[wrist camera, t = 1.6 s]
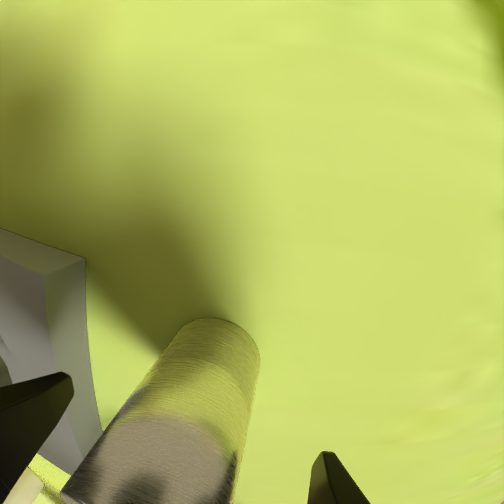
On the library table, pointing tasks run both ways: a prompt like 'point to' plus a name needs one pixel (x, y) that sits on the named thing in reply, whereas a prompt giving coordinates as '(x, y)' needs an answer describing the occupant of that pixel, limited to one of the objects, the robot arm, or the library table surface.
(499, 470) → the library table surface
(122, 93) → the library table surface
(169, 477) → the long pin
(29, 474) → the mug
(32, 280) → the grey peg base
